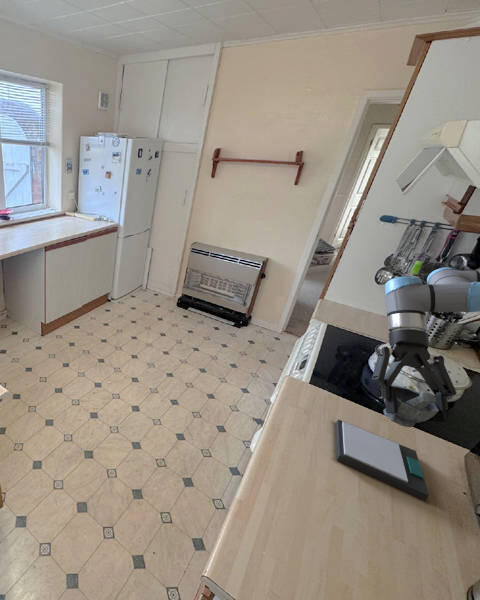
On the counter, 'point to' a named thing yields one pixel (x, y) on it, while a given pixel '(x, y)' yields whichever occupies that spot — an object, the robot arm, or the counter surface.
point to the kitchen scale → (380, 459)
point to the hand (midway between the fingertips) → (416, 417)
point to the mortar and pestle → (412, 407)
